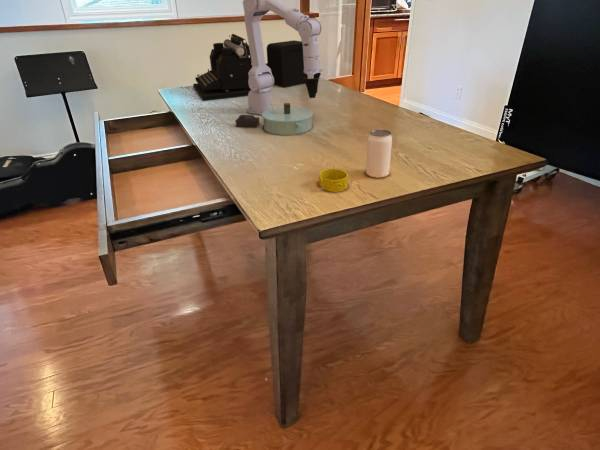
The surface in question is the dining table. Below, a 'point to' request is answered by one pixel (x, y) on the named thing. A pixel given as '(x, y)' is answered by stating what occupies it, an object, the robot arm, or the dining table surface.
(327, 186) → the bracelet
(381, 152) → the can
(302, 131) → the pot
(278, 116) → the lid
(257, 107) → the robot arm
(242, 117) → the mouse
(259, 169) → the dining table surface
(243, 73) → the typewriter
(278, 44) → the air purifier
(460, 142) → the dining table surface
